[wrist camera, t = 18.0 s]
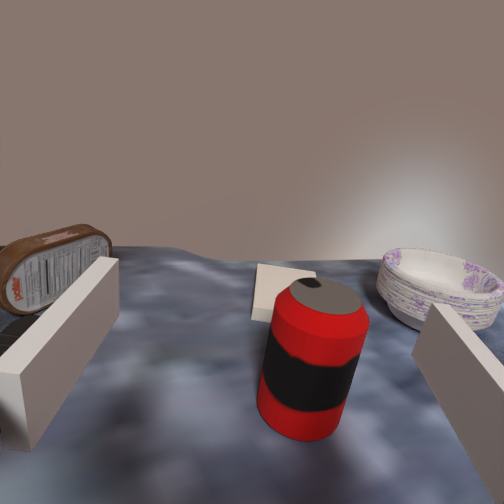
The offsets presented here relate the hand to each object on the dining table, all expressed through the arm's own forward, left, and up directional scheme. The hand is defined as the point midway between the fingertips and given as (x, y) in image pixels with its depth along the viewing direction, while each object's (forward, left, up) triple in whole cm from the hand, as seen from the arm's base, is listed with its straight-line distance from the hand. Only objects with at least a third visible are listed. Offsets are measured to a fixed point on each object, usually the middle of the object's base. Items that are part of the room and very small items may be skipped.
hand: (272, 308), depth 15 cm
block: (-19, +17, -17) cm, 31 cm away
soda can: (-8, +10, -18) cm, 22 cm away
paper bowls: (-15, +37, -18) cm, 44 cm away
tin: (-33, -8, -18) cm, 38 cm away
